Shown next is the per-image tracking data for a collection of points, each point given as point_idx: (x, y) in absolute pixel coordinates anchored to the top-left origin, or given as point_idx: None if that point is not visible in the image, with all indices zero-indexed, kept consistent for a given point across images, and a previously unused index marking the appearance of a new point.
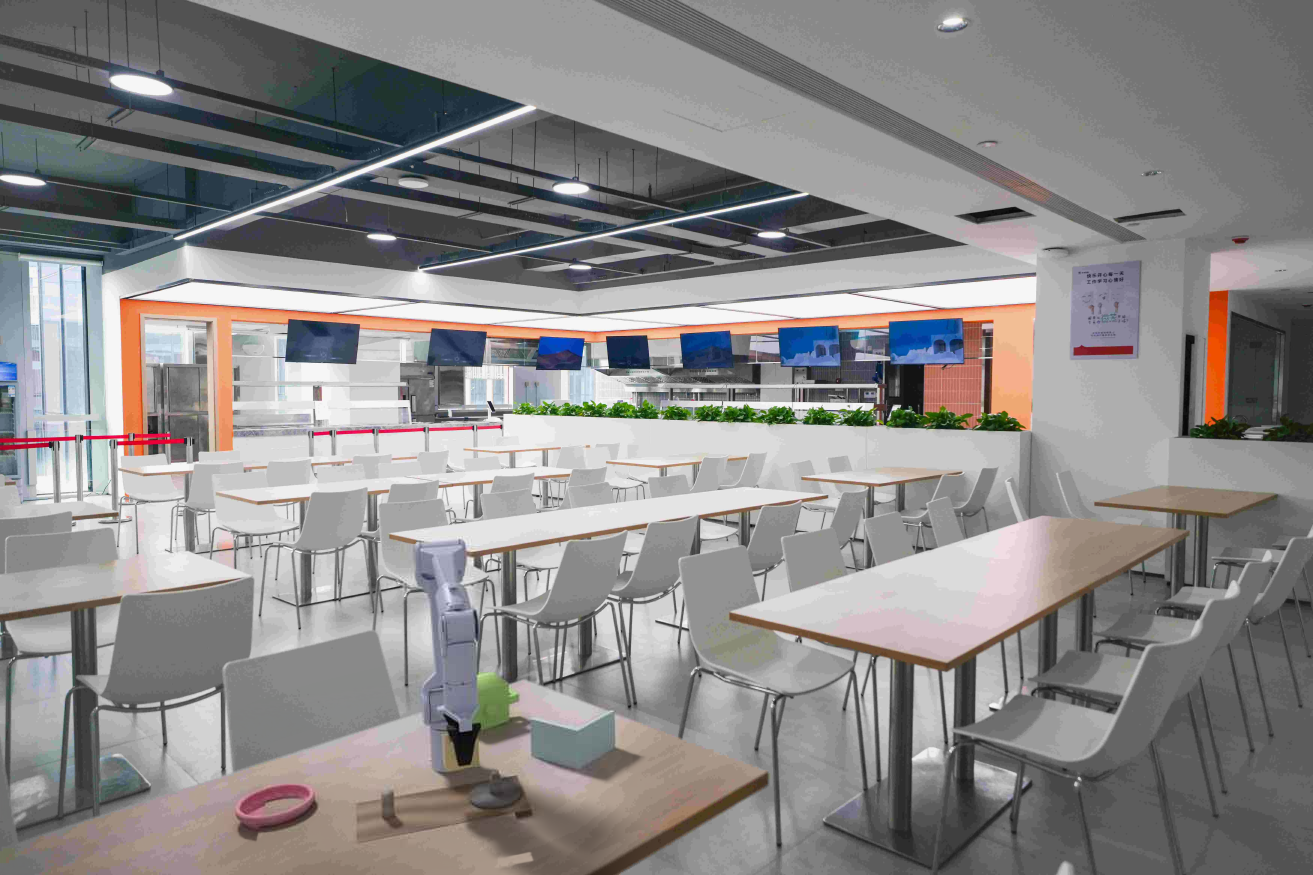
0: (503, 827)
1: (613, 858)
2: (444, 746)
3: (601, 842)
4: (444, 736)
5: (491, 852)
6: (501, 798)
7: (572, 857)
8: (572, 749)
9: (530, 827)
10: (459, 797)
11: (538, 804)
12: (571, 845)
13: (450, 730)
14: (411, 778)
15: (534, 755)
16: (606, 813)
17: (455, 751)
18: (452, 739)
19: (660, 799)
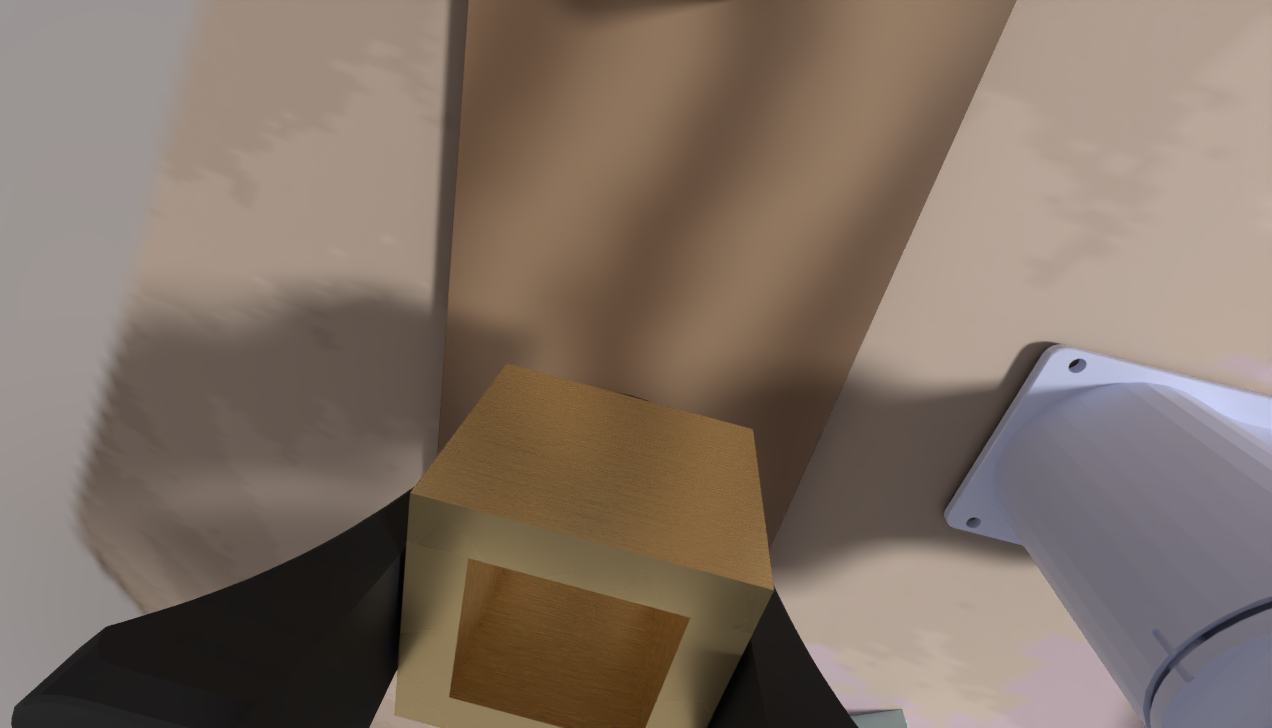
0: (395, 413)
1: (102, 557)
2: (444, 485)
3: (194, 576)
4: (664, 575)
5: (226, 305)
6: None
7: (129, 487)
8: None
9: (356, 479)
10: (697, 373)
11: None
12: (199, 515)
13: (25, 700)
14: (1189, 262)
15: (885, 716)
16: None
17: (371, 516)
18: (206, 596)
19: None
